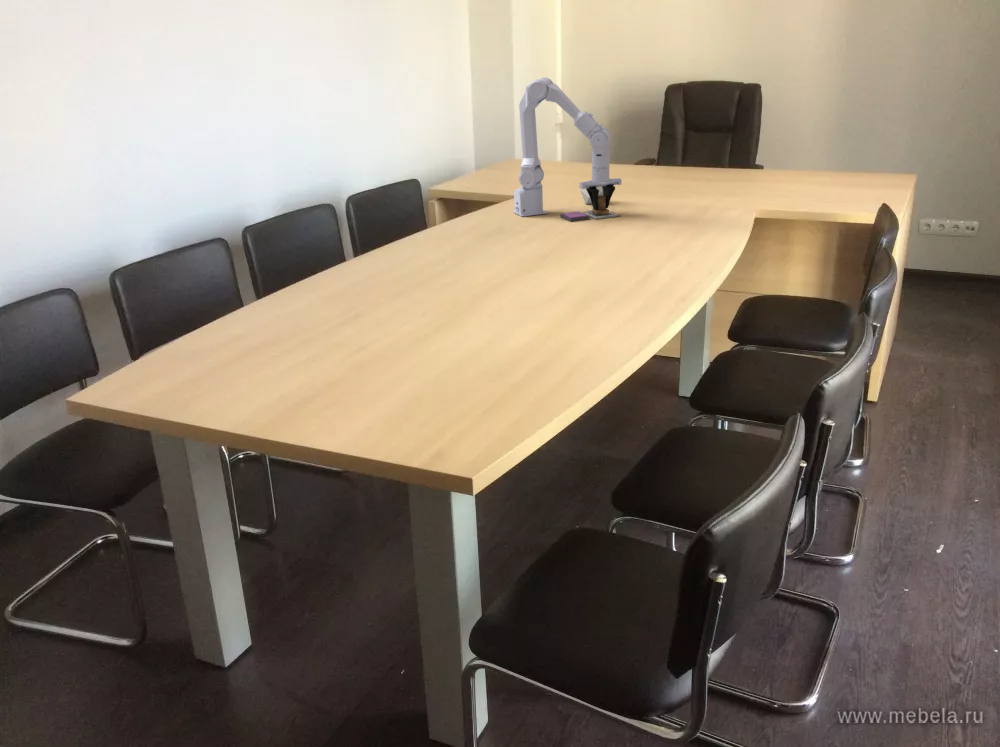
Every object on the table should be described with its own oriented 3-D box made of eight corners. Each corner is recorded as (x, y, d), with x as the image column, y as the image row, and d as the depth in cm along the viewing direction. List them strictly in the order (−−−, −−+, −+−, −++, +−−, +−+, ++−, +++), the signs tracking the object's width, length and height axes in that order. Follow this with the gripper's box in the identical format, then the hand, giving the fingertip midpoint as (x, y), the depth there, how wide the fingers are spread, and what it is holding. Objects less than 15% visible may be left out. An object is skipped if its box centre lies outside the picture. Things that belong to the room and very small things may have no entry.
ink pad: (570, 221, 275) (570, 217, 275) (560, 217, 282) (560, 213, 282) (589, 219, 277) (589, 215, 277) (579, 214, 284) (579, 211, 284)
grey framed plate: (595, 219, 276) (595, 216, 276) (581, 213, 286) (581, 210, 286) (620, 216, 279) (620, 213, 279) (605, 210, 289) (605, 207, 288)
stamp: (596, 215, 280) (596, 197, 278) (592, 213, 284) (592, 195, 282) (609, 214, 281) (609, 196, 279) (604, 212, 285) (604, 194, 283)
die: (591, 209, 295) (608, 185, 292) (572, 195, 297) (589, 171, 295) (598, 213, 302) (615, 189, 300) (580, 199, 305) (596, 176, 303)
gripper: (586, 171, 271) (586, 213, 276) (626, 166, 275) (625, 208, 280) (576, 168, 277) (577, 209, 282) (616, 163, 281) (615, 204, 287)
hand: (600, 208), depth 282 cm, fingers closed on stamp, 3 cm apart
